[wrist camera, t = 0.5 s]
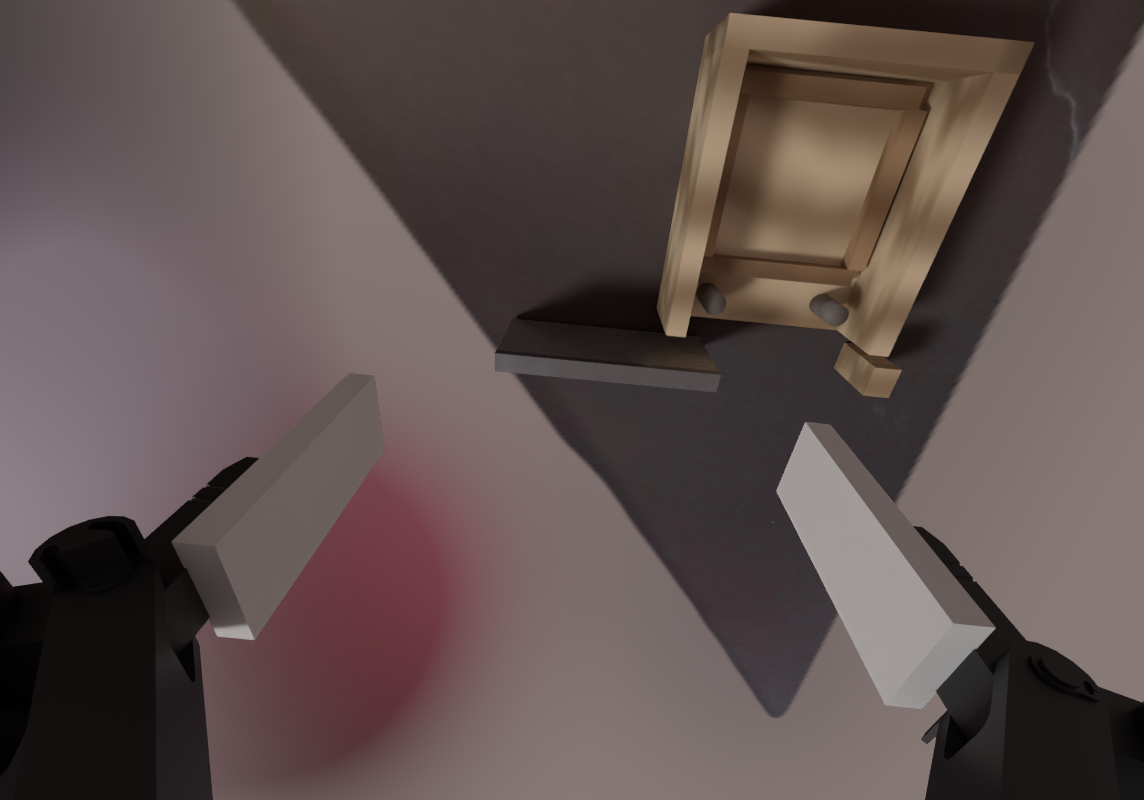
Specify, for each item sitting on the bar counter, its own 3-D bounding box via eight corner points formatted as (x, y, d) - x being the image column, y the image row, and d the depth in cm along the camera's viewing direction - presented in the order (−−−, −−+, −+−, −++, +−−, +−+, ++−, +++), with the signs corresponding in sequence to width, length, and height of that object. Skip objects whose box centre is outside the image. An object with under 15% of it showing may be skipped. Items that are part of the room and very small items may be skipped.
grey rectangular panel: (512, 317, 39) (494, 353, 32) (699, 335, 39) (720, 374, 32) (512, 332, 39) (495, 371, 33) (696, 350, 39) (716, 392, 33)
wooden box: (705, 37, 29) (730, 12, 24) (989, 64, 29) (1078, 46, 24) (648, 350, 40) (656, 382, 35) (856, 370, 40) (897, 405, 35)
